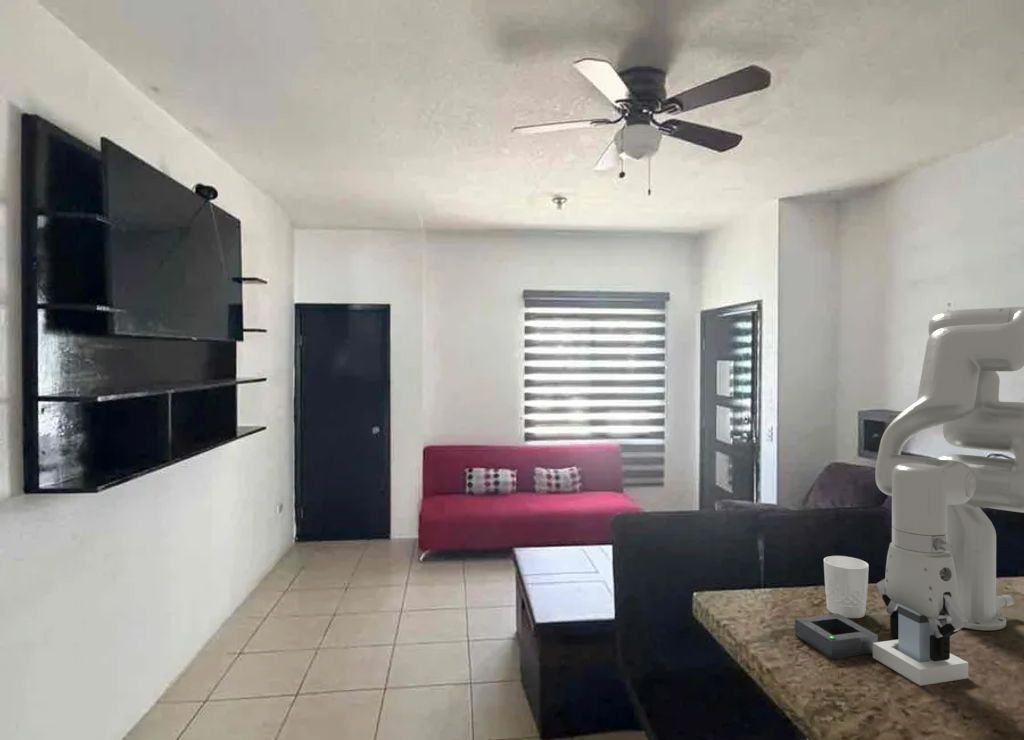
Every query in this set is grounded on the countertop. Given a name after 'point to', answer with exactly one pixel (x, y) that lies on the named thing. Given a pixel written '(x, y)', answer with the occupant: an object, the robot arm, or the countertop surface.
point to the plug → (914, 634)
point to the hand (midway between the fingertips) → (918, 647)
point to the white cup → (846, 585)
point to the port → (835, 635)
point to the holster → (919, 665)
